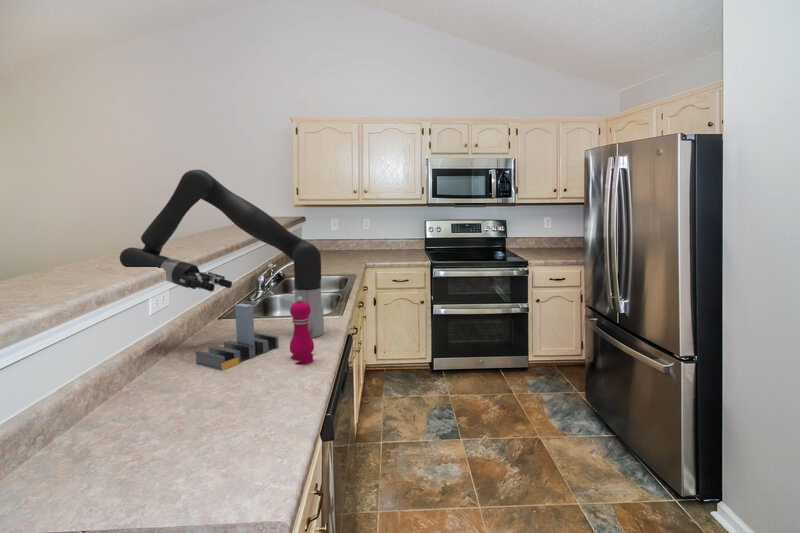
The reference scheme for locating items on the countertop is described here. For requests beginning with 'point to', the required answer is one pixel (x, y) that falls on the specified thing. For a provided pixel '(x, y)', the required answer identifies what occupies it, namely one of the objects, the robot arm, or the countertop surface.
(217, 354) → the rack
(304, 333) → the pepper mill
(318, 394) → the countertop surface
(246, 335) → the panel
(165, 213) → the robot arm
